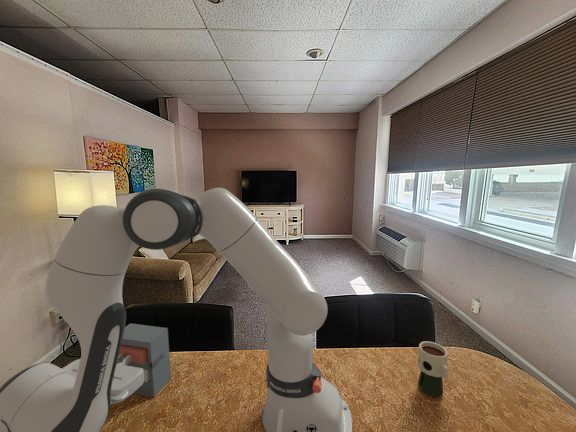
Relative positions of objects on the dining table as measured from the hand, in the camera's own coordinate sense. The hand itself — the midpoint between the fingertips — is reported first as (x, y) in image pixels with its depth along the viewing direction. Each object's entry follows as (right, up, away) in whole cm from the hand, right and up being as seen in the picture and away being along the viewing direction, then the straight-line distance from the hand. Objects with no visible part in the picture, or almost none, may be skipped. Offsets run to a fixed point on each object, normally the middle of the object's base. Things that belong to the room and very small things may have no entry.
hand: (127, 356), depth 68 cm
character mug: (+85, -12, +4) cm, 86 cm away
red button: (0, -1, +2) cm, 3 cm away
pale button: (+1, -7, +4) cm, 8 cm away
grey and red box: (+1, -12, +6) cm, 13 cm away
